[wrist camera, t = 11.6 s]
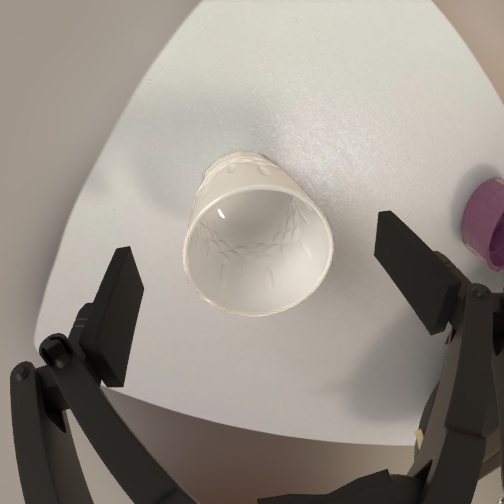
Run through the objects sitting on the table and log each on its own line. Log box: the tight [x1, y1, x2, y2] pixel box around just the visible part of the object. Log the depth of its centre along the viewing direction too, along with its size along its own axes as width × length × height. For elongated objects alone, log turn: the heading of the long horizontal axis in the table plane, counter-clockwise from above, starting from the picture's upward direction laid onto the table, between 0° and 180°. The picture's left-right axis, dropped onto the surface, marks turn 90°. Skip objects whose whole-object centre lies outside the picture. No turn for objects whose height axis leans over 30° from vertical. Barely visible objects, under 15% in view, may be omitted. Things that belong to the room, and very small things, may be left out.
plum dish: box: [462, 178, 504, 271], centre depth 27 cm, size 9×9×5 cm
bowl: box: [414, 364, 501, 480], centre depth 35 cm, size 35×35×20 cm
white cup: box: [183, 151, 334, 317], centre depth 21 cm, size 8×8×10 cm
